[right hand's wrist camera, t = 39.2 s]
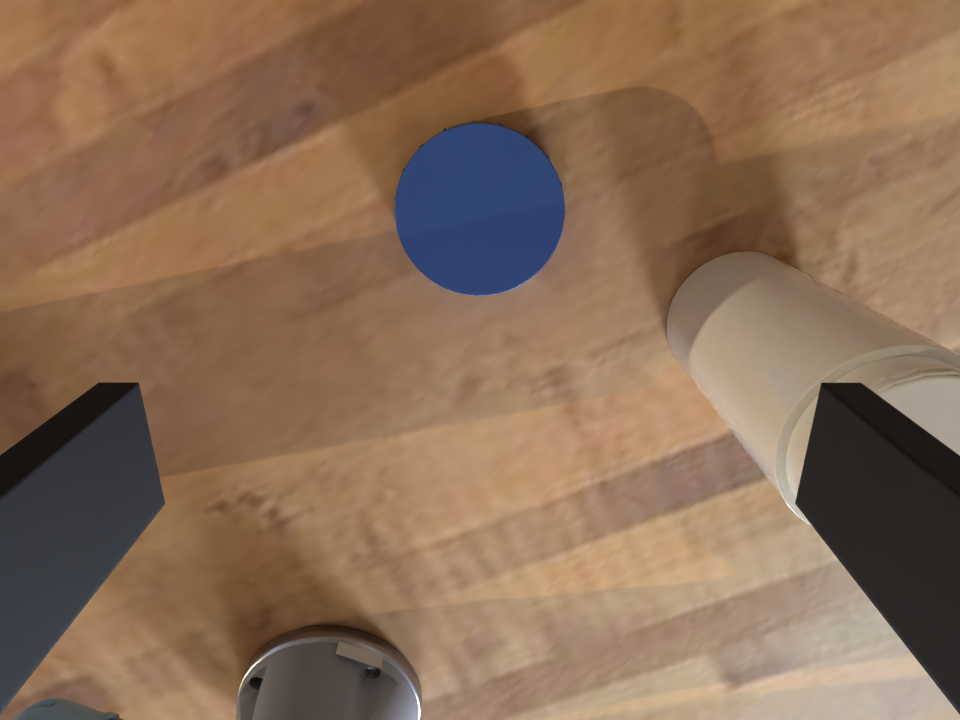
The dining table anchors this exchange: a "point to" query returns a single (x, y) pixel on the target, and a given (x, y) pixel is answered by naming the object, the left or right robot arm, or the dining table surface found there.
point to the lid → (479, 209)
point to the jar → (799, 358)
